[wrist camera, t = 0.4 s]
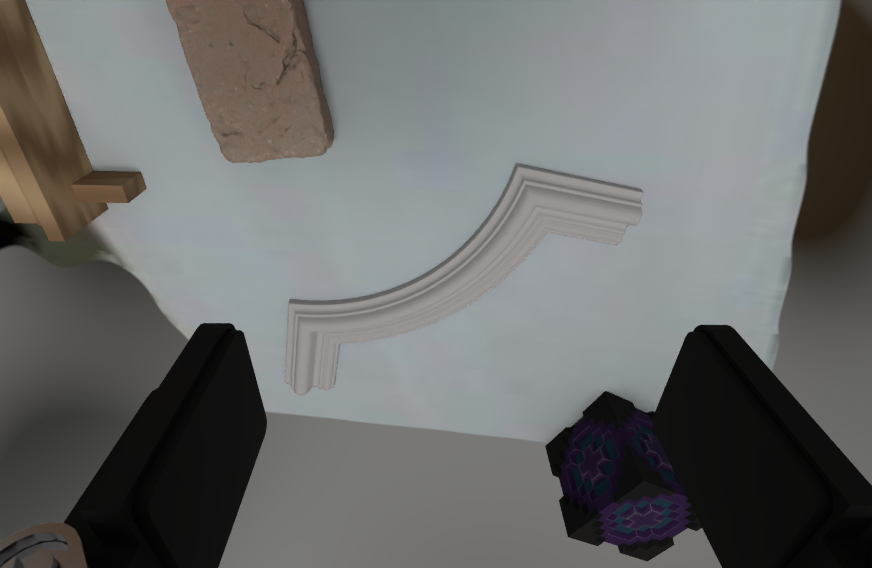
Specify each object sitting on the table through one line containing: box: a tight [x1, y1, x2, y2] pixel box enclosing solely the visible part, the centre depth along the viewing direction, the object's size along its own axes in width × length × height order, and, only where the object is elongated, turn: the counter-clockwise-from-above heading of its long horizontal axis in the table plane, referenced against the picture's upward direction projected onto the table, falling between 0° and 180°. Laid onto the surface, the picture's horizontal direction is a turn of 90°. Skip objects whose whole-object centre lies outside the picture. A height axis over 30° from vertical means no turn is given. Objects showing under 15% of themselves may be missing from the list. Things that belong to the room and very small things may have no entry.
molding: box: [285, 164, 644, 396], centre depth 46 cm, size 42×12×3 cm, turn 123°
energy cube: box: [546, 391, 702, 561], centre depth 56 cm, size 12×12×12 cm
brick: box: [166, 0, 334, 163], centre depth 33 cm, size 16×8×5 cm, turn 6°
